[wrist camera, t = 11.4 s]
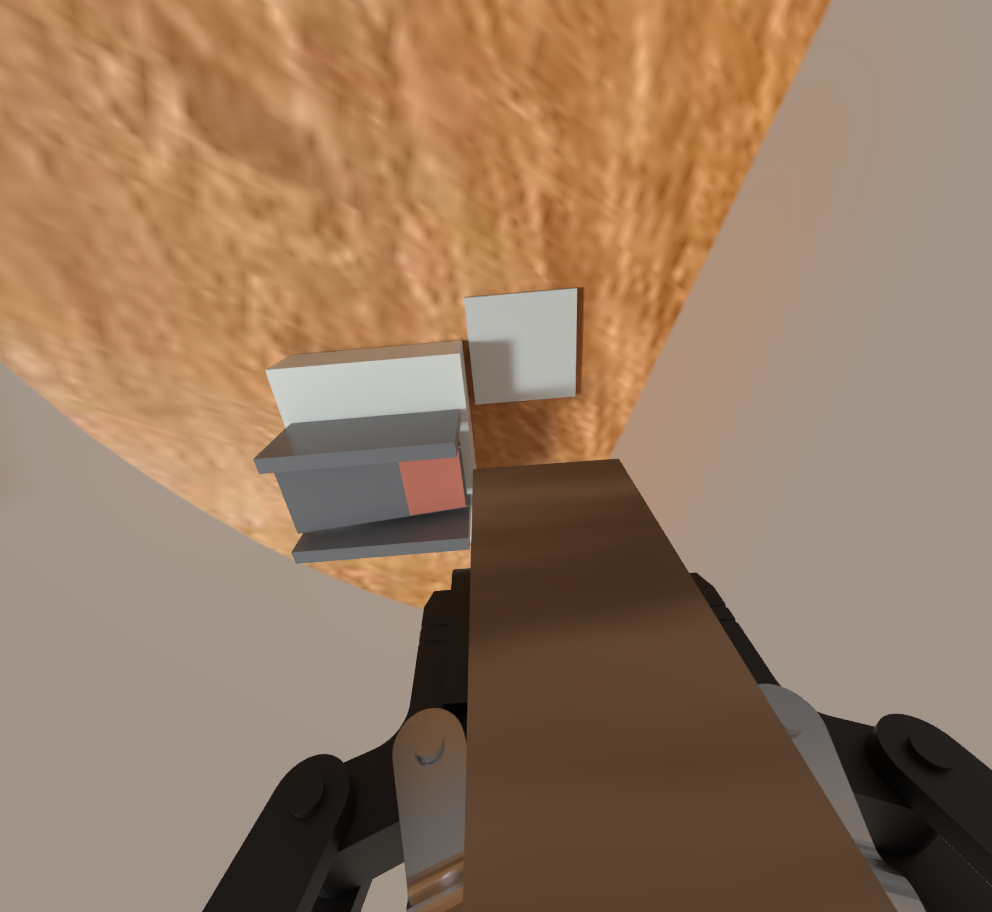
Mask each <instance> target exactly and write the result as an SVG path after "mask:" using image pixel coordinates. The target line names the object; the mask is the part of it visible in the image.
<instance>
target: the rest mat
mask: <svg viewBox="0 0 992 912" xmlns="http://www.w3.org/2000/svg"><path fill="white" fill-rule="evenodd" d="M464 304H465V313H466V322H467V332H468V341H469V350H470V359H471V369H472V378H473V387H474V397H475V405H478V404H490V403H502V402H514V401H525V400H537V399H549V398H561V397H573V396H575V393H576V330H577V288H566V289H554V290H543V291H531V292H519V293H508V294H496V295H485V296H473V297H464Z"/></svg>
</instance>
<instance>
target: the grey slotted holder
mask: <svg viewBox="0 0 992 912" xmlns="http://www.w3.org/2000/svg"><path fill="white" fill-rule="evenodd" d="M265 371H266V374H267V377H268V380H269V382H270V385H271V388H272V391H273V394H274V397H275V399H276V402H277V405H278V408H279V411H280V414H281V416H282V419H283V422H284V425H285V428H286V429H284V430H283V431H282V432H281V433H280V434H279V435H278V436H277V437H276V438H275V439H274V440H273V441H272V442H271V443H270V444H269V445H268V446H267V447H266V448H265V449H264V450H263V451H261V452H260V453H259V454H258V455H257V456H256V457H255V458H254V459H253V460H254V462H255V465H256V467H257V470H258V472H259V474H263V473H275V472H287V471H299V470H311V469H323V468H335V467H347V466H358V465H370V464H382V463H394V462H406V461H418V460H430V459H442V458H454V457H457V452H458V443H459V440H460V445H461V453H462V460H463V468H464V475H465V483H466V490H467V498H468V505H469V507H465V508H458V509H452V510H445V511H439V512H433V513H426V514H420V515H414V516H407V517H401V518H395V519H388V520H382V521H375V522H369V523H363V524H356V525H350V526H344V527H337V528H331V529H325V530H318V531H312V532H306V533H303V534H302V536H301V538H300V539H299V541H298V543H297V544H296V546H295V548H294V549H293V551H292V555H293V557H294V560H295V562H296V564H298V563H311V562H323V561H335V560H347V559H359V558H371V557H384V556H396V555H408V554H420V553H432V552H444V551H457V550H469V549H470V543H471V529H472V485H473V469H477V466H476V457H475V448H474V440H473V431H472V422H471V414H470V405H469V396H468V387H467V379H466V370H465V361H464V353H463V344H462V340H461V341H449V342H438V343H426V344H414V345H403V346H391V347H379V348H368V349H356V350H345V351H333V352H321V353H310V354H298V355H290V356H288V357H286V358H285V359H283V360H281V361H280V362H278V363H276V364H275V365H273V366H271V367H269V368H268V369H266V370H265Z"/></svg>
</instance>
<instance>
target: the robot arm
mask: <svg viewBox="0 0 992 912" xmlns="http://www.w3.org/2000/svg"><path fill="white" fill-rule="evenodd" d="M470 573H471V568H468V569H454V570H453V573H452V585H451V590H443V591H434V592H433V594H432V596H431V597H430V599H429V600H428V602H427V604H426V605H425V607H424V612H423V619H422V629H421V633H420V639H419V646H418V653H417V660H416V668H415V674H414V681H413V688H412V695H411V701H410V707H409V711H408V714H407V717H406V719H405V721H404V722H403V724H402V726H401V727H400V729H399V730H398V731H397V732H396V734H395V735H394V736H393V737H392V738H390V740H388V741H387V742H386V743H384V744H383V745H381V746H379V747H377V748H376V749H373V750H371V751H369V752H367V753H365V754H362V755H360V756H358V757H355V758H353V759H351V760H349V761H347V762H344V763H343V762H342V761H341V760H340V759H339V758H337V757H335V756H333V755H328V754H319V755H315V756H312V757H309V758H307V759H305V760H304V761H302V762H300V763H299V764H297V765H296V766H295V767H293V768H292V769H291V770H290V771H289V772H288V773H287V774H286V775H285V777H284V778H283V779H282V780H281V781H280V783H279V785H278V786H277V787H276V789H275V791H274V792H273V794H272V796H271V798H270V799H269V801H268V803H267V804H266V806H265V807H264V809H263V811H262V813H261V814H260V816H259V818H258V819H257V821H256V823H255V824H254V826H253V828H252V829H251V831H250V833H249V834H248V836H247V838H246V839H245V841H244V843H243V844H242V846H241V848H240V850H239V851H238V853H237V854H236V856H235V858H234V859H233V861H232V863H231V864H230V866H229V868H228V870H227V871H226V873H225V874H224V876H223V878H222V879H221V881H220V883H219V884H218V886H217V888H216V889H215V891H214V893H213V895H212V896H211V898H210V899H209V901H208V903H207V904H206V906H205V908H204V910H203V911H202V912H361V908H362V906H363V903H364V901H365V898H366V895H367V892H368V890H369V887H370V884H371V882H372V879H374V878H375V877H377V876H379V875H381V874H383V873H385V872H387V871H388V870H390V869H392V868H394V867H396V866H398V865H400V864H401V863H403V862H404V863H405V871H406V880H407V890H408V903H407V912H463V882H464V838H465V794H466V749H467V705H468V661H469V617H470ZM689 574H690V575H691V577H692V579H693V580H694V582H695V583H696V585H697V587H698V588H699V590H700V592H701V593H702V595H703V596H704V598H705V600H706V601H707V603H708V604H709V606H710V608H711V609H712V611H713V613H714V614H715V616H716V617H717V619H718V621H719V622H720V624H721V626H722V627H723V629H724V630H725V632H726V634H727V635H728V637H729V639H730V640H731V642H732V643H733V645H734V647H735V648H736V650H737V652H738V653H739V655H740V656H741V658H742V660H743V661H744V663H745V665H746V666H747V668H748V669H749V671H750V673H751V674H752V676H753V678H754V679H755V681H756V682H757V684H758V686H759V687H760V689H761V691H762V692H763V694H764V695H765V697H766V699H767V700H768V702H769V703H770V705H771V707H772V708H773V710H774V712H775V713H776V715H777V716H778V718H779V720H780V721H781V723H782V725H783V726H784V728H785V729H786V731H787V733H788V734H789V736H790V738H791V739H792V741H793V742H794V744H795V746H796V747H797V749H798V751H799V752H800V754H801V755H802V757H803V759H804V760H805V762H806V764H807V765H808V767H809V768H810V770H811V772H812V773H813V775H814V777H815V778H816V780H817V781H818V783H819V785H820V786H821V788H822V790H823V791H824V793H825V794H826V796H827V798H828V799H829V801H830V803H831V804H832V806H833V807H834V809H835V811H836V812H837V814H838V815H839V817H840V819H841V820H842V822H843V824H844V825H845V827H846V828H847V830H848V832H849V833H850V835H851V837H852V838H853V840H854V841H855V843H856V845H857V846H858V848H859V850H860V851H861V853H862V854H863V856H864V858H865V859H866V861H867V863H868V864H869V866H870V867H871V869H872V871H873V872H874V874H875V876H876V877H877V879H878V880H879V882H880V884H881V885H882V887H883V889H884V890H885V892H886V893H887V895H888V897H889V898H890V900H891V902H892V903H893V905H894V906H895V908H896V910H897V911H898V912H992V887H991V886H992V770H991V769H990V768H988V767H987V766H986V765H985V764H983V763H982V762H981V761H980V760H978V759H977V758H976V757H975V756H974V755H972V754H971V753H970V752H969V751H967V750H966V749H965V748H964V747H963V746H961V745H960V744H959V743H958V742H956V741H955V740H954V739H953V738H951V737H950V736H949V735H947V734H946V733H944V732H943V731H941V730H940V729H938V728H937V727H935V726H933V725H931V724H929V723H927V722H925V721H923V720H921V719H918V718H915V717H912V716H908V715H904V714H889V715H886V716H884V717H882V718H881V719H880V720H879V722H878V723H877V725H876V726H875V727H874V726H869V725H865V724H861V723H857V722H853V721H849V720H844V719H840V718H836V717H832V716H828V715H825V714H822V713H819V712H817V711H816V710H815V709H814V708H813V707H812V706H811V705H810V704H809V703H808V702H807V701H805V700H804V699H803V698H802V697H800V696H799V695H797V694H796V693H794V692H792V691H790V690H788V689H786V688H783V687H781V686H780V685H779V683H778V682H777V681H776V680H775V678H774V676H773V675H772V673H771V672H770V671H769V669H768V667H767V666H766V664H765V663H764V661H763V660H762V658H761V657H760V655H759V654H758V652H757V651H756V650H755V648H754V646H753V645H752V643H751V642H750V640H749V639H748V637H747V636H746V634H745V633H744V631H743V630H742V628H741V627H740V625H739V624H738V623H736V622H735V618H734V616H733V615H732V613H731V612H730V610H729V609H728V608H726V606H725V603H724V601H723V600H722V598H721V597H720V596H719V594H718V592H717V591H716V590H715V588H714V587H713V586H712V585H711V584H710V583H708V582H707V581H706V580H705V579H703V578H702V577H701V576H700V575H699V574H697V573H689ZM966 861H967V862H968V863H969V864H970V865H971V866H972V867H973V868H974V869H975V870H976V871H977V872H978V873H979V874H980V875H981V876H982V877H983V878H984V879H985V880H986V881H987V882H988V883H989V884H990V885H991V886H990V885H989V884H988V883H987V882H986V881H985V880H984V879H983V878H982V877H981V876H980V875H979V874H978V873H977V872H976V871H975V870H974V869H973V868H972V867H971V866H970V865H969V864H968V863H967V862H966Z"/></svg>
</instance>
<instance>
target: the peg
mask: <svg viewBox="0 0 992 912" xmlns="http://www.w3.org/2000/svg"><path fill="white" fill-rule="evenodd" d="M463 912H898V911H897V910H896V908H895V906H894V905H893V903H892V902H891V900H890V898H889V897H888V895H887V893H886V892H885V890H884V889H883V887H882V885H881V884H880V882H879V880H878V879H877V877H876V876H875V874H874V872H873V871H872V869H871V867H870V866H869V864H868V863H867V861H866V859H865V858H864V856H863V854H862V853H861V851H860V850H859V848H858V846H857V845H856V843H855V841H854V840H853V838H852V837H851V835H850V833H849V832H848V830H847V828H846V827H845V825H844V824H843V822H842V820H841V819H840V817H839V815H838V814H837V812H836V811H835V809H834V807H833V806H832V804H831V803H830V801H829V799H828V798H827V796H826V794H825V793H824V791H823V790H822V788H821V786H820V785H819V783H818V781H817V780H816V778H815V777H814V775H813V773H812V772H811V770H810V768H809V767H808V765H807V764H806V762H805V760H804V759H803V757H802V755H801V754H800V752H799V751H798V749H797V747H796V746H795V744H794V742H793V741H792V739H791V738H790V736H789V734H788V733H787V731H786V729H785V728H784V726H783V725H782V723H781V721H780V720H779V718H778V716H777V715H776V713H775V712H774V710H773V708H772V707H771V705H770V703H769V702H768V700H767V699H766V697H765V695H764V694H763V692H762V691H761V689H760V687H759V686H758V684H757V682H756V681H755V679H754V678H753V676H752V674H751V673H750V671H749V669H748V668H747V666H746V665H745V663H744V661H743V660H742V658H741V656H740V655H739V653H738V652H737V650H736V648H735V647H734V645H733V643H732V642H731V640H730V639H729V637H728V635H727V634H726V632H725V630H724V629H723V627H722V626H721V624H720V622H719V621H718V619H717V617H716V616H715V614H714V613H713V611H712V609H711V608H710V606H709V604H708V603H707V601H706V600H705V598H704V596H703V595H702V593H701V592H700V590H699V588H698V587H697V585H696V583H695V582H694V580H693V579H692V577H691V575H690V574H689V572H688V570H687V569H686V567H685V566H684V564H683V562H682V561H681V559H680V557H679V556H678V554H677V553H676V551H675V549H674V548H673V546H672V545H671V543H670V541H669V540H668V538H667V536H666V535H665V533H664V531H663V530H662V529H661V527H660V525H659V523H658V522H657V520H656V519H655V517H654V515H653V514H652V512H651V510H650V509H649V507H648V506H647V504H646V502H645V501H644V499H643V497H642V496H641V494H640V492H639V491H638V489H637V488H636V486H635V484H634V483H633V481H632V480H631V478H630V477H629V475H628V473H627V472H626V470H625V468H624V467H623V465H622V463H621V462H620V460H619V459H609V460H595V461H581V462H567V463H554V464H540V465H526V466H512V467H498V468H484V469H473V485H472V529H471V573H470V617H469V661H468V705H467V749H466V794H465V838H464V882H463Z"/></svg>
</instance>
